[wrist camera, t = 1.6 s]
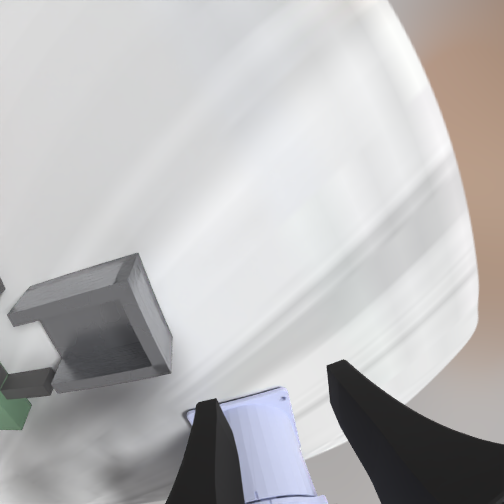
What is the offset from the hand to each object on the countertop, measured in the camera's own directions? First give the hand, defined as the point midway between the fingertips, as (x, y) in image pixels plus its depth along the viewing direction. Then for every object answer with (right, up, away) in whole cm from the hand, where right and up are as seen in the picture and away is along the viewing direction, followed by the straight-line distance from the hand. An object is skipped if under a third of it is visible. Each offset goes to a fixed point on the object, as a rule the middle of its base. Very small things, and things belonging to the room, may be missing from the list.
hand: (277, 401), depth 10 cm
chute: (-10, +1, +8) cm, 13 cm away
